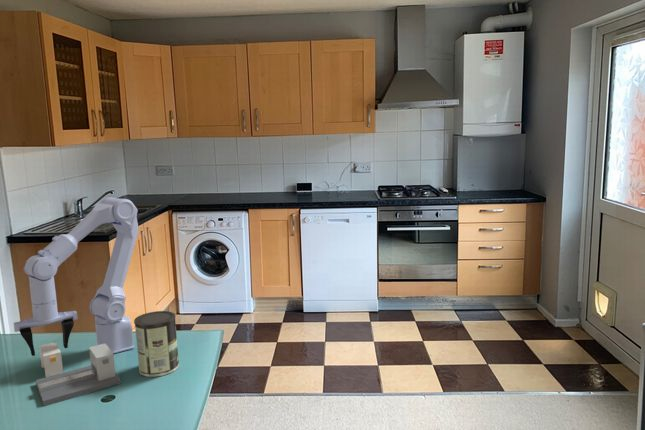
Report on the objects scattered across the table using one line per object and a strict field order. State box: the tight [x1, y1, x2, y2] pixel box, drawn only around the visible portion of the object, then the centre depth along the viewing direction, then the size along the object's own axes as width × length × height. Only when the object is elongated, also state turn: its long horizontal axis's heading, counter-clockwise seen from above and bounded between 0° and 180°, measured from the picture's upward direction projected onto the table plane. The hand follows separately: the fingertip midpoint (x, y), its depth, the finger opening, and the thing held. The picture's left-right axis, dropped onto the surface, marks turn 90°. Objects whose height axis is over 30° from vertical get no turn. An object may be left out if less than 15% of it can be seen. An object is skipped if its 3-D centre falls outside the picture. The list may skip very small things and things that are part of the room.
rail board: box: [35, 343, 121, 407], centre depth 127 cm, size 17×13×7 cm
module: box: [38, 341, 64, 377], centre depth 135 cm, size 4×9×6 cm, turn 36°
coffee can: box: [133, 310, 180, 378], centre depth 134 cm, size 10×10×14 cm
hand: (49, 350), depth 135 cm, fingers open, 7 cm apart
